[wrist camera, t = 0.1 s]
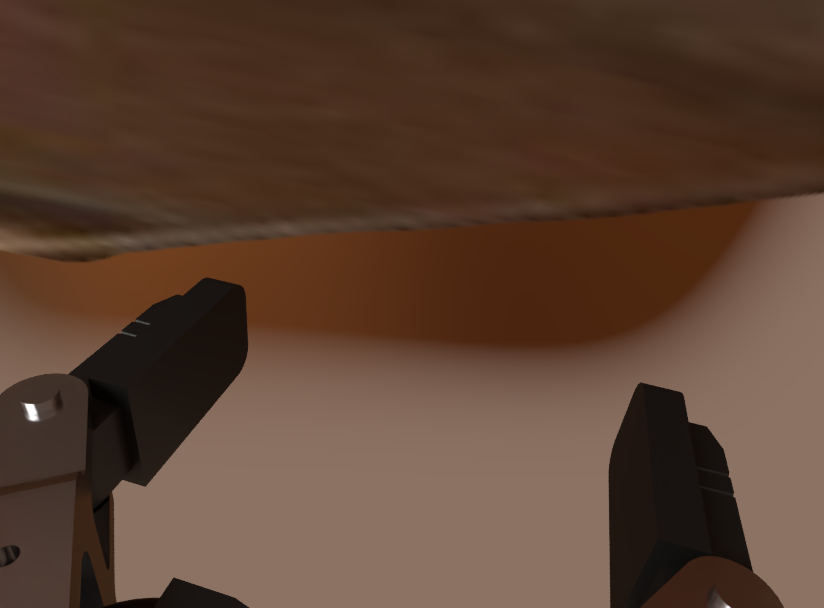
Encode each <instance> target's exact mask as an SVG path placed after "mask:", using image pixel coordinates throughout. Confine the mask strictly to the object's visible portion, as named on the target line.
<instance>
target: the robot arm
mask: <svg viewBox="0 0 824 608" xmlns="http://www.w3.org/2000/svg"><path fill="white" fill-rule="evenodd" d="M247 352H248V333H247V312H246V295H245V291H244V288H243V287H242V286H240V285H237V284H233V283H228V282H224V281H220V280H216V279H211V278H204V279H202V280H201V281H200V282H199V283H197V284H196V285H195V286H194V287H193V288H192V289H190V290H189V291H188V292H187V293H186V294H184V295H183V296H181V295H175V296H172V297H170V298H168V299H166V300H163V301H161V302H159V303H156V304H154V305H152V306H151V307H150V308H149V309H147V310H146V311H145V312H144V313H142V314H141V315H140V316H139V317H137V318H136V321H135V322H131V323H130V324H129V325H128V326H127V327H125V328H124V329H123V330H122V332H121V334H117V335H116V336H114V337H113V338H112V339H111V340H109V341H108V342H107V343H106V344H105V345H103V346H102V347H101V348H100V349H99V350H97V351H96V352H95V353H94V354H93V355H91V356H90V357H89V358H87V359H86V360H85V361H84V362H83V363H81V364H80V365H79V366H78V367H77V368H75V369H74V370H73V371H72V372H70V373H69V374H68V375H67V374H44V375H40V376H35V377H31V378H28V379H25V380H23V381H20V382H18V383H16V384H14V385H13V386H11V387H9V388H8V389H6V390H5V391H4V392H3V393H2V394H1V395H0V608H249V607H247V606H246V605H244V604H243V603H242V602H240V601H239V600H237V599H236V598H234V597H231V596H228V595H225V594H222V593H219V592H216V591H213V590H209V589H207V588H204V587H201V586H198V585H195V584H191V583H189V582H185V581H183V580H180V579H176V578H173V579H172V581H171V582H170V584H169V585H168V587H167V588H166V590H165V591H164V593H163V594H162V596H161V597H160V598H143V599H133V600H128V601H123V602H116V595H115V573H114V572H115V570H114V499H113V494H112V491H113V490H114V488H115V487H116V486H117V485H118V484H119V483H120V481H122V480H125V481H128V482H132V483H135V484H138V485H141V486H145V487H146V485H147V484H148V483H149V482H150V481H151V479H152V478H153V477H154V476H155V475H156V473H157V472H158V471H159V470H160V469H161V467H162V466H163V465H164V464H165V463H166V461H167V460H168V459H169V458H170V457H171V455H172V454H173V453H174V452H175V451H176V449H177V448H178V447H179V446H180V445H181V443H182V442H183V441H184V440H185V438H186V437H187V436H188V435H189V434H190V432H191V431H192V430H193V429H194V428H195V426H196V425H197V424H198V423H199V422H200V420H201V419H202V418H203V417H204V416H205V414H206V413H207V412H208V411H209V410H210V408H211V407H212V406H213V405H214V403H215V402H216V401H217V400H218V398H220V396H221V395H222V394H223V393H224V391H225V390H226V389H227V388H228V387H229V385H230V384H231V383H232V382H233V381H234V379H235V378H236V377H237V376H238V374H239V373H240V372H241V370H242V368H243V366H244V363H245V360H246V357H247ZM733 494H734V491H733V487H732V483H731V479H730V478H729V470H728V466H727V461H726V457H725V453H724V450H723V448H722V447H721V446H720V444H719V443H718V441H717V440H716V439H715V437H714V436H713V435H712V433H711V432H710V430H709V429H708V428H707V427H706V426H702V425H698V424H694V423H690V422H688V417H687V411H686V406H685V400H684V396H683V394H682V393H681V392H678V391H673V390H670V389H665V388H661V387H657V386H653V385H649V384H645V383H639V384H638V386H637V387H636V389H635V391H634V394H633V396H632V399H631V401H630V404H629V406H628V409H627V411H626V414H625V416H624V419H623V422H622V424H621V427H620V430H619V432H618V434H617V437H616V439H615V442H614V445H613V449H612V453H611V458H610V464H609V533H610V534H609V536H610V537H609V538H610V608H784V607H783V605H782V603H781V602H780V600H779V598H778V597H777V595H776V594H775V593H774V592H773V590H772V589H771V588H770V587H769V586H768V585H767V584H766V583H765V582H764V581H763V580H762V579H761V578H760V577H759V576H757V575H756V574H754V573H753V570H752V566H751V562H750V558H749V554H748V549H747V546H746V541H745V537H744V533H743V529H742V524H741V520H740V516H739V512H738V507H737V503H736V500H735V498H734V497H733Z"/></svg>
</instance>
